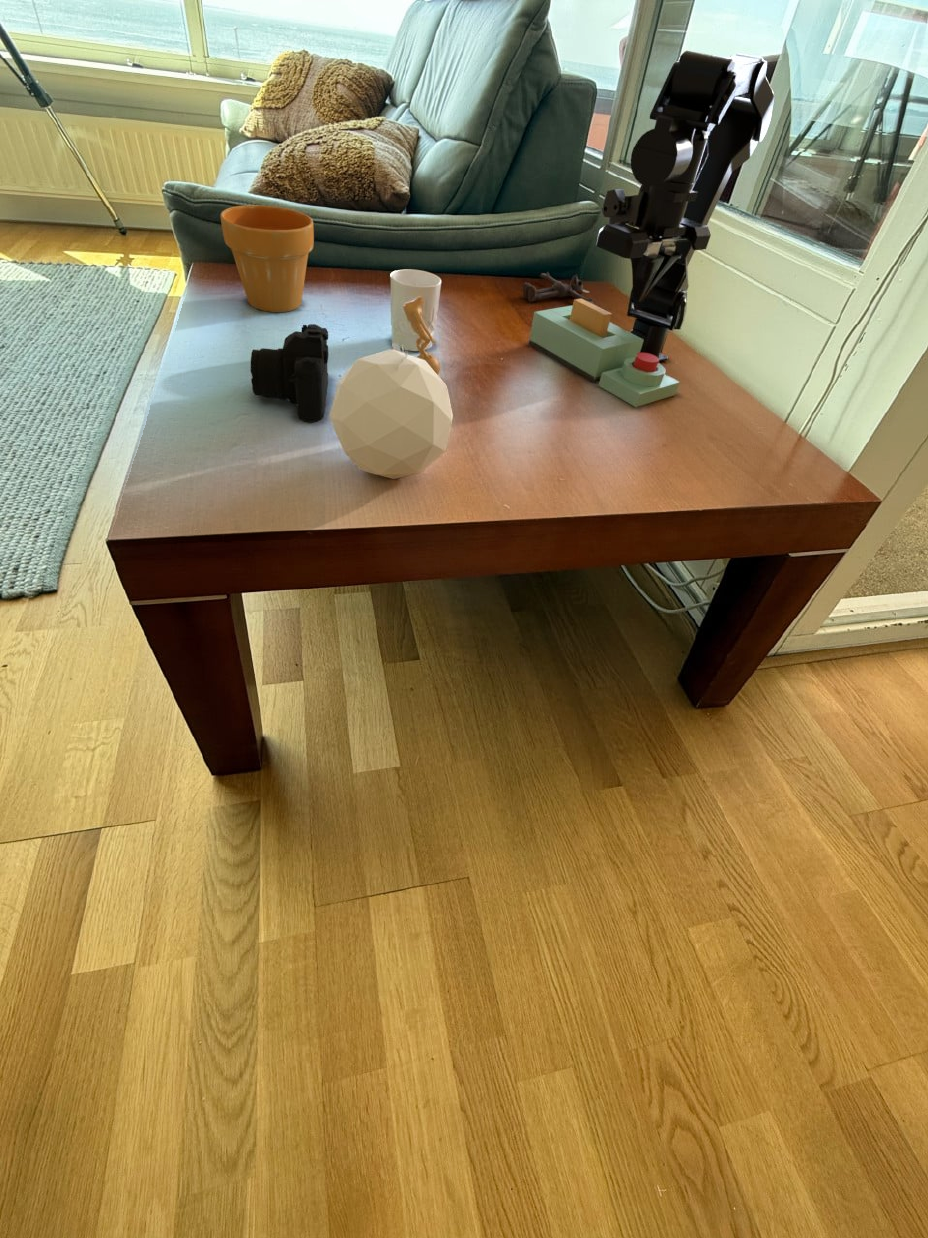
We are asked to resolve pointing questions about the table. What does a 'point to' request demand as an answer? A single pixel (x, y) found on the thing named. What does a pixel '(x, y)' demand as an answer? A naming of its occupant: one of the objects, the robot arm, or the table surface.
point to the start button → (646, 362)
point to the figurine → (421, 331)
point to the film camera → (295, 372)
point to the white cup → (408, 289)
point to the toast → (590, 317)
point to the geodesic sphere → (392, 413)
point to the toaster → (581, 343)
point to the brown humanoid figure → (555, 289)
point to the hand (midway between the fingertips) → (636, 300)
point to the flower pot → (269, 253)
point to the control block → (638, 384)
